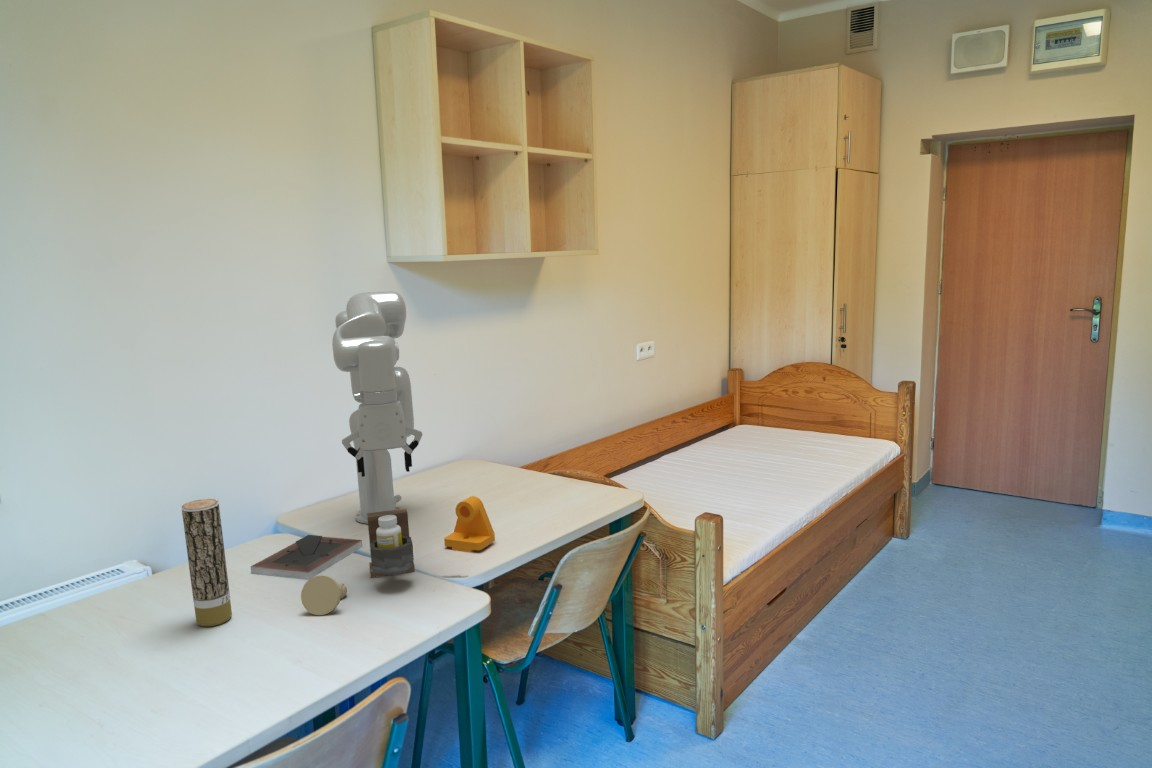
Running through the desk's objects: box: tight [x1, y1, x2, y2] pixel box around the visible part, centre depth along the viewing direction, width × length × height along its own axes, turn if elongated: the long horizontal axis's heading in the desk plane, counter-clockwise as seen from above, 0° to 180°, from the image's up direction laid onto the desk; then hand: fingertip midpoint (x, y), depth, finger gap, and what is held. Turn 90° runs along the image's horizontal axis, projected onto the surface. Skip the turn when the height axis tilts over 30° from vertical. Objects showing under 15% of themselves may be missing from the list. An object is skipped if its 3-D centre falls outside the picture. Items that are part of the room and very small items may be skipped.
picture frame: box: [250, 534, 364, 581], centre depth 197 cm, size 16×2×22 cm
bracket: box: [443, 495, 496, 553], centre depth 201 cm, size 11×7×12 cm, turn 66°
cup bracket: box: [367, 508, 416, 578], centre depth 182 cm, size 17×10×14 cm, turn 16°
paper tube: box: [181, 498, 233, 627], centre depth 163 cm, size 7×7×25 cm
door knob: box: [300, 574, 348, 616], centre depth 171 cm, size 10×8×8 cm
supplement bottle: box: [376, 515, 402, 549], centre depth 177 cm, size 5×5×10 cm
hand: (385, 472), depth 178 cm, fingers open, 9 cm apart
